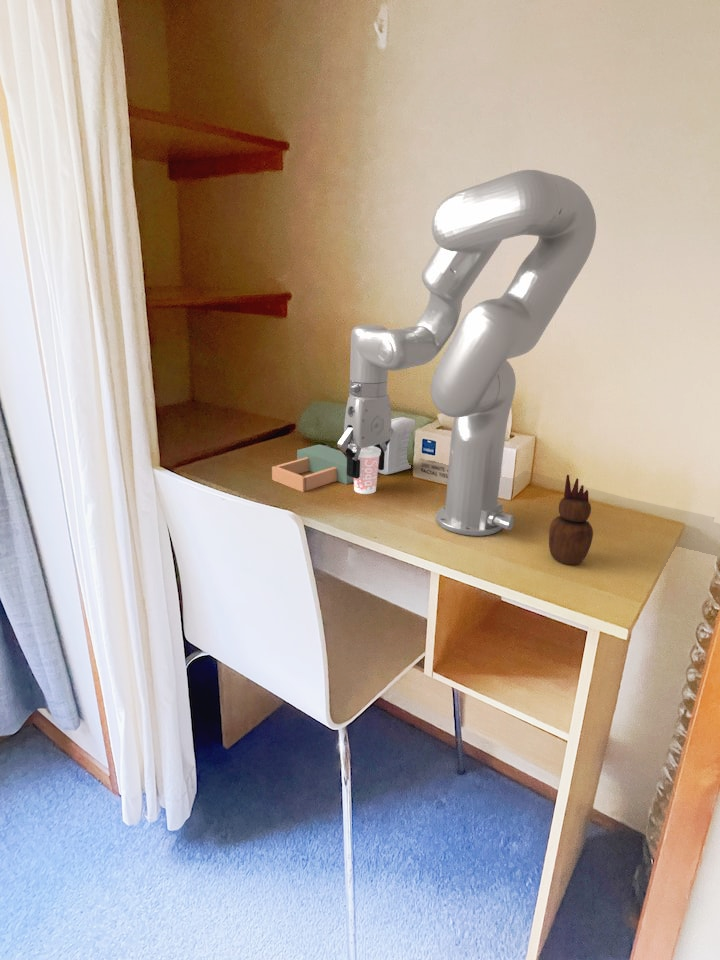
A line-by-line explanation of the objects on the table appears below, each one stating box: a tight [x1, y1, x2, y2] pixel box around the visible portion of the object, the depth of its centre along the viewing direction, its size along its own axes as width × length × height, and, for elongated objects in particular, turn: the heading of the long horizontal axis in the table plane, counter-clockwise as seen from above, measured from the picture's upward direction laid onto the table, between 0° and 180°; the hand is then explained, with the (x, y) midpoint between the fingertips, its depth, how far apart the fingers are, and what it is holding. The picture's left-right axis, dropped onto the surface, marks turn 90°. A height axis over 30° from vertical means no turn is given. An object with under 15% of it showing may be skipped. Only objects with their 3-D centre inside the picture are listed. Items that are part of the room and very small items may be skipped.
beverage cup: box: [352, 446, 381, 495], centre depth 129 cm, size 6×6×14 cm
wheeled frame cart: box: [271, 443, 354, 493], centre depth 138 cm, size 16×18×4 cm
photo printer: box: [378, 416, 416, 475], centre depth 142 cm, size 10×4×12 cm, turn 134°
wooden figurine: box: [548, 474, 594, 566], centre depth 101 cm, size 7×6×15 cm
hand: (365, 471), depth 130 cm, fingers open, 6 cm apart
